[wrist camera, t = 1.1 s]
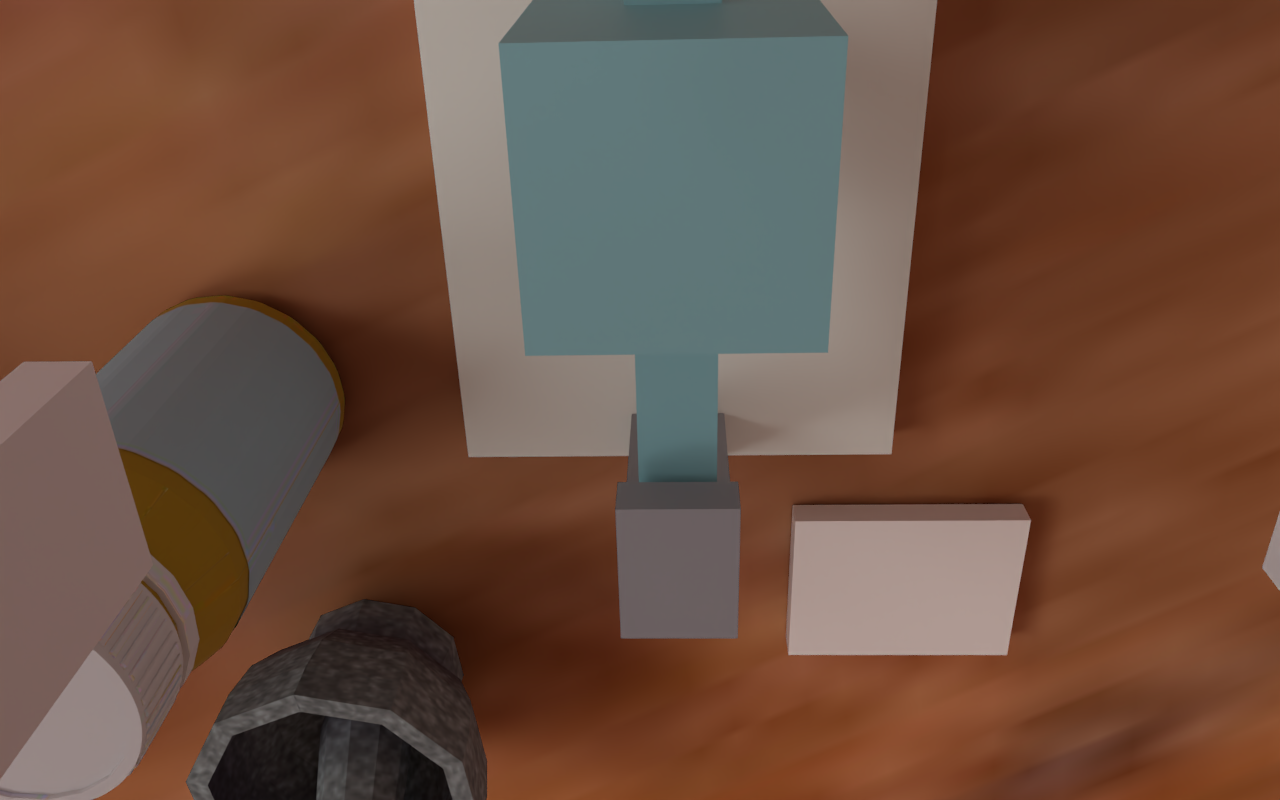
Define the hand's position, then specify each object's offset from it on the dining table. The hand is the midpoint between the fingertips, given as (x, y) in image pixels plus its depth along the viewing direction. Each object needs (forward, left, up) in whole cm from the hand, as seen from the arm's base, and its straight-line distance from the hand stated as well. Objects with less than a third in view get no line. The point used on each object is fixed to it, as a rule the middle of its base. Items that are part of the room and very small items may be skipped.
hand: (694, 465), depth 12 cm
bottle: (-15, -10, -22) cm, 28 cm away
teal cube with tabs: (0, 0, -14) cm, 14 cm away
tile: (+8, -18, -21) cm, 29 cm away
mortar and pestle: (-12, -23, -22) cm, 34 cm away
